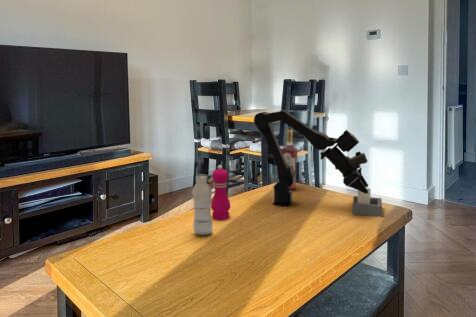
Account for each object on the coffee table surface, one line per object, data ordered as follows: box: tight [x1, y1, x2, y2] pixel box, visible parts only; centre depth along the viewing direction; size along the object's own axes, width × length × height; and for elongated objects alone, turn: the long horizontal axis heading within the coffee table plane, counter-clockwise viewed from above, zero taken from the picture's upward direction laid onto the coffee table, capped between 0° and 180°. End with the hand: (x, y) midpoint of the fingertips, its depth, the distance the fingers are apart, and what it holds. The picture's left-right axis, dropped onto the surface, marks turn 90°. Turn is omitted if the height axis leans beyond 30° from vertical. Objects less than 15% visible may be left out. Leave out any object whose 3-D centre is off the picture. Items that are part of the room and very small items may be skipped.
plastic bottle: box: [191, 173, 214, 236], centre depth 129 cm, size 6×7×20 cm
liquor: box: [281, 129, 298, 191], centre depth 181 cm, size 7×7×28 cm
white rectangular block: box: [357, 187, 372, 204], centre depth 152 cm, size 4×4×8 cm
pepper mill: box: [210, 164, 231, 221], centre depth 145 cm, size 7×7×20 cm
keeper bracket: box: [351, 195, 383, 217], centre depth 152 cm, size 10×11×4 cm
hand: (367, 189), depth 151 cm, fingers open, 9 cm apart
